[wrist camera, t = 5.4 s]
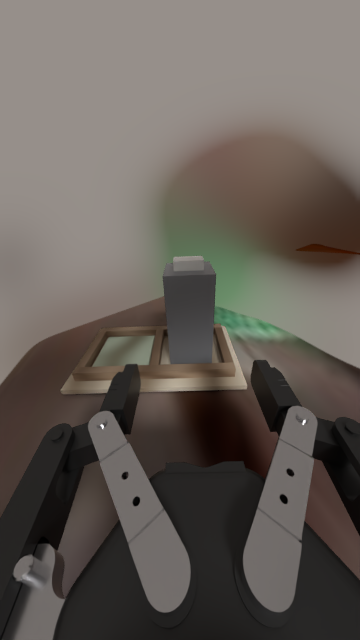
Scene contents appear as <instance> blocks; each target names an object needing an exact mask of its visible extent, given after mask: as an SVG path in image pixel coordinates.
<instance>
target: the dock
mask: <svg viewBox="0 0 360 640" xmlns="http://www.w3.org/2000/svg"><path fill="white" fill-rule="evenodd" d="M126 364H137V365H138V369H139V374H140V379H141V388H140V392H165V391H202V390H239V389H247V383H246V381H245V378H244V375H243V373H242V370H241V367H240V365H239V362H238V359H237V357H236V354H235V351H234V349H233V346H232V343H231V341H230V338H229V335H228V333H227V330H226V327H225V326H221V324H214V327H213V347H212V363H197V364H170V353H169V341H168V330H167V326H143V327H114V328H101V330H100V331H99V333H98V334H97V336H96V337H95V339H94V340H93V342H92V343H91V345H90V346H89V348H88V349H87V351H86V352H85V354H84V355H83V357H82V358H81V360H80V361H79V363H78V365H77V366H76V368H75V369H74V371H73V372H72V374H71V375H70V377H69V378H68V380H67V381H66V383H65V384H64V386H63V387H62V389H61V390H60V391H61V393H62V394H91V393H107V392H108V389H109V386H110V384H111V381H112V379H113V377H114V376H115V375H116V374H117V373H118V372H123V370H124V368H125V365H126Z"/></svg>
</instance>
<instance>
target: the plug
mask: <svg viewBox="0 0 360 640" xmlns="http://www.w3.org/2000/svg"><path fill="white" fill-rule="evenodd" d="M163 285H164V296H165V307H166V319H167V330H168V341H169V353H170V364H197V363H212V347H213V327H214V306H215V285H216V273H215V271H214V270H213V268H212V266H211V264H210V262H204V259H203V257H202V256H187V257H174V261H173V263H167V264H166V266H165V270H164V274H163Z"/></svg>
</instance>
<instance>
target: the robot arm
mask: <svg viewBox="0 0 360 640" xmlns="http://www.w3.org/2000/svg"><path fill="white" fill-rule="evenodd" d="M251 384H252V387H253V390H254V392H255V395H256V397H257V400H258V402H259V405H260V407H261V410H262V412H263V415H264V417H265V420H266V422H267V425H268V427H269V429H270V432H277V433H278V435H279V438H278V441H277V444H276V447H275V450H274V453H273V456H272V459H271V462H270V465H269V468H268V471H267V474H266V477H265V479H264V478H263V477H262V476H260V475H259V474H258V473H256V472H254V471H252V470H250V469H247V468H245V466H244V462H243V461H232V462H222V463H219V464H216V465H213V466H210V467H207V468H203V467H199V466H196V465H192V464H189V463H185V462H183V463H166V469H164V470H162V471H160V472H158V473H156V474H155V475H153V476H152V477H151V478H150V479H149V480H148V478H147V476H146V474H145V472H144V470H143V468H142V466H141V464H140V462H139V461H138V459H137V457H136V455H135V453H134V451H133V449H132V447H131V445H130V443H129V442H127V440H126V438H125V436H124V435H125V434H130V433H131V428H132V424H133V419H134V415H135V410H136V406H137V401H138V397H139V392H140V388H141V379H140V374H139V369H138V365H137V364H126V365H125V368H124V370H123V372H118V373H117V374H116V375H115V376H114V377H113V379H112V381H111V384H110V386H109V389H108V392H107V394H106V397H105V399H104V402H103V404H102V407H101V409H100V411H99V413H97V414H96V415H94V416H93V417H92V418H91V420H90V421H89V422H88V423H85V424H82V425H79V426H76V427H73V428H72V427H71V426H70V425H69V424H66V423H63V424H59V425H57V426H55V427H53V428H52V429H50V430H49V431H48V432H47V433H46V435H45V436H44V438H43V440H42V442H41V443H40V445H39V447H38V449H37V451H36V453H35V455H34V457H33V458H32V460H31V462H30V464H29V466H28V468H27V470H26V471H25V473H24V475H23V477H22V479H21V481H20V483H19V484H18V486H17V488H16V490H15V492H14V494H13V496H12V497H11V499H10V501H9V503H8V505H7V507H6V509H5V511H4V512H3V514H2V516H1V518H0V640H360V580H359V579H358V578H357V577H356V575H355V574H354V573H353V572H352V571H351V570H350V569H349V568H348V567H347V566H346V565H345V564H344V563H343V562H342V560H341V559H340V558H339V557H338V556H337V555H336V554H335V553H334V552H333V551H332V550H331V549H330V548H329V547H328V545H327V544H326V543H325V542H324V541H323V540H322V539H321V538H320V537H319V536H318V535H317V534H316V533H315V532H314V530H313V529H312V528H311V527H310V526H309V525H308V524H307V523H306V522H305V521H304V519H305V513H306V507H307V500H308V494H309V488H310V482H311V476H312V469H313V463H314V458H315V459H318V460H321V461H322V462H323V464H324V466H325V468H326V470H327V472H328V474H329V476H330V478H331V480H332V482H333V484H334V486H335V488H336V490H337V492H338V494H339V496H340V498H341V500H342V502H343V504H344V506H345V508H346V510H347V512H348V514H349V516H350V518H351V520H352V522H353V524H354V526H355V528H356V530H357V531H358V533H359V535H360V424H359V423H358V422H356V421H354V420H352V419H350V418H346V417H340V418H337V419H336V421H335V422H332V421H328V420H324V419H320V418H317V417H315V416H314V414H313V413H312V412H310V411H309V410H308V409H306V408H304V407H302V406H301V404H300V402H299V401H298V399H297V398H296V396H295V394H294V393H293V391H292V389H291V388H290V386H289V384H288V383H287V381H286V380H285V378H284V376H283V375H282V373H281V372H280V371H278V370H277V369H276V368H275V367H274V368H271V367H270V365H269V364H268V362H267V361H266V360H254V362H253V367H252V373H251ZM98 460H99V462H100V466H101V468H102V471H103V474H104V477H105V480H106V482H107V485H108V488H109V491H110V494H111V496H112V499H113V502H114V505H115V508H116V510H117V513H118V516H119V521H118V522H117V524H116V525H115V526H114V528H113V529H112V531H111V532H110V533H109V535H108V536H107V538H106V539H105V540H104V542H103V543H102V545H101V546H100V547H99V549H98V550H97V552H96V553H95V554H94V556H93V557H92V559H91V560H90V561H89V563H88V564H87V566H86V567H85V568H84V570H83V571H82V573H81V574H80V575H79V577H78V578H77V580H76V581H75V583H74V584H73V586H72V587H71V589H70V591H69V593H68V595H67V597H66V599H65V598H64V595H63V592H62V580H63V574H64V566H65V565H64V559H63V556H62V555H61V554H60V553H59V552H58V551H57V550H58V547H59V544H60V541H61V538H62V535H63V532H64V528H65V525H66V522H67V519H68V516H69V513H70V510H71V507H72V503H73V500H74V497H75V494H76V491H77V488H78V485H79V482H80V478H81V475H82V472H83V469H84V466H85V465H87V464H90V463H93V462H95V461H98Z"/></svg>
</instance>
